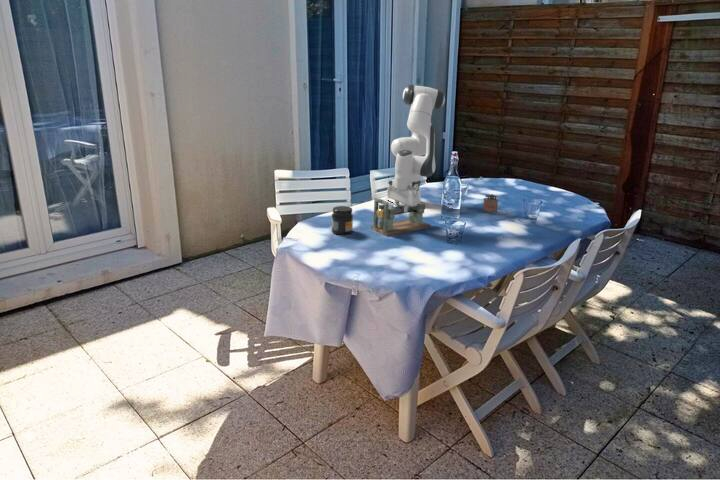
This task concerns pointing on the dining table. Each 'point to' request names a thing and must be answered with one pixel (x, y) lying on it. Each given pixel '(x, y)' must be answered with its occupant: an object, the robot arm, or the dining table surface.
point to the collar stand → (397, 227)
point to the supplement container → (342, 220)
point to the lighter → (490, 204)
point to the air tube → (397, 210)
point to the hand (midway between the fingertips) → (401, 210)
